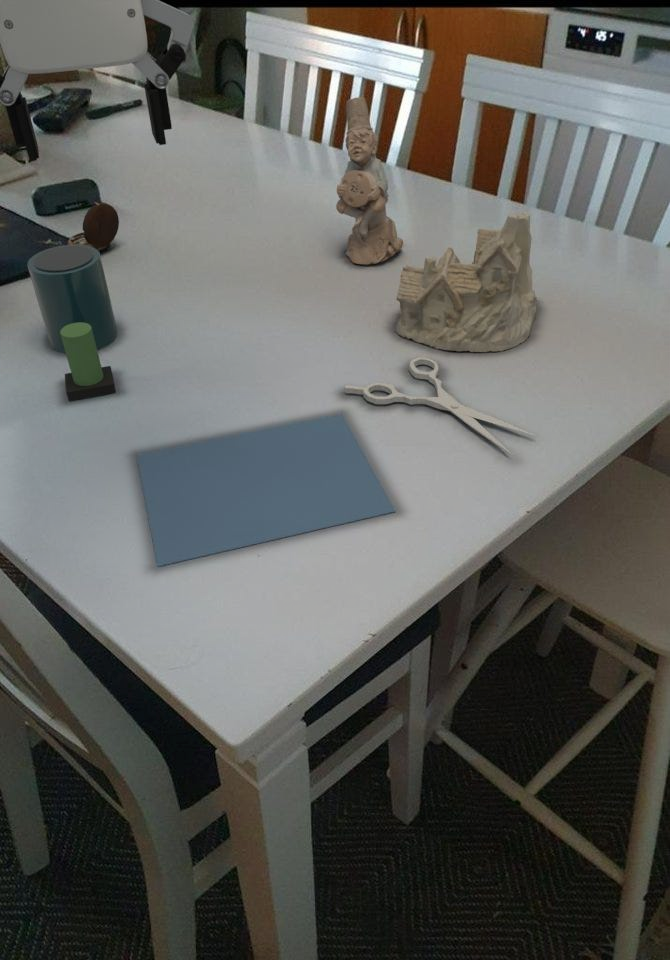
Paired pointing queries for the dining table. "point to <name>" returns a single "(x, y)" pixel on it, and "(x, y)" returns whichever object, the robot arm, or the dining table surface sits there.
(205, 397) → the dining table surface
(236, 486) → the napkin
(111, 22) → the robot arm
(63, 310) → the teal cylinder
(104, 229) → the compass
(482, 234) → the ceramic cottage
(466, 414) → the scissors
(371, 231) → the figurine
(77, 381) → the stamp
